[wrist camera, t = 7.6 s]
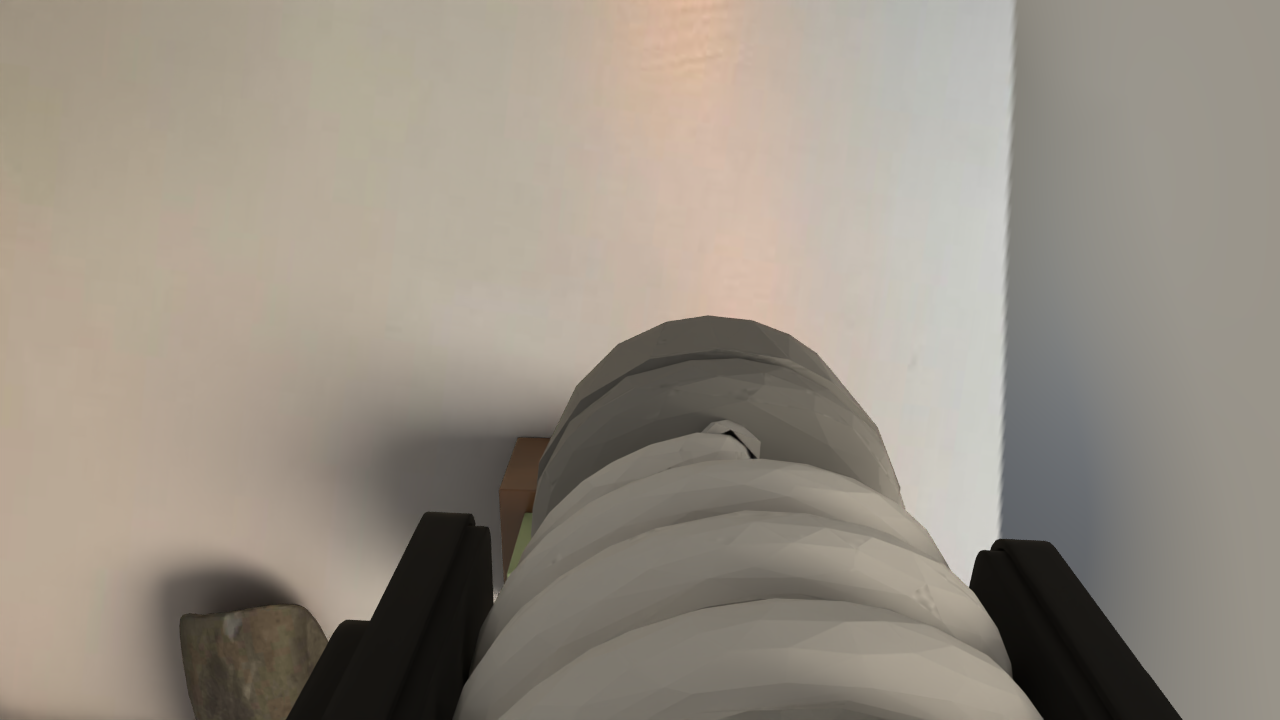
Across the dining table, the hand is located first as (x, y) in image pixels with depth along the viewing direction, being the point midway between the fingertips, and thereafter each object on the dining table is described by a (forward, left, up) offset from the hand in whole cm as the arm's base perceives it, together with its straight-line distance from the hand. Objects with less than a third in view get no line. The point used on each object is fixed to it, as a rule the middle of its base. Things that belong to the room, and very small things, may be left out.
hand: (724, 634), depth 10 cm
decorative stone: (+19, +27, -25) cm, 41 cm away
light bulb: (0, 0, -7) cm, 7 cm away
